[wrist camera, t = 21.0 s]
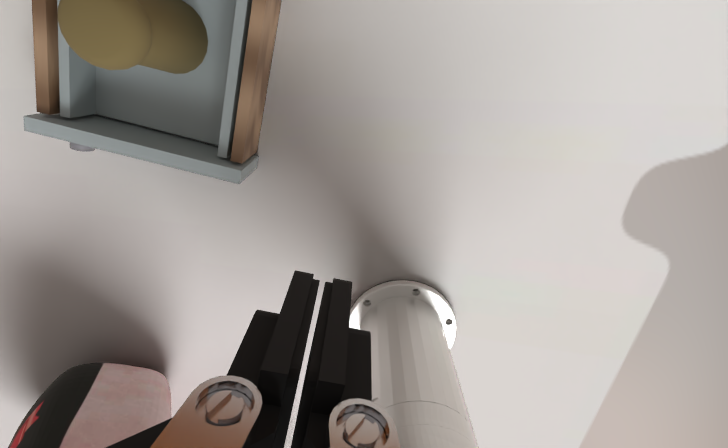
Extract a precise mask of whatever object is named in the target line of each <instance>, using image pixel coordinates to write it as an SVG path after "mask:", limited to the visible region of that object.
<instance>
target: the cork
mask: <svg viewBox="0 0 728 448" xmlns="http://www.w3.org/2000/svg"><path fill="white" fill-rule="evenodd" d="M58 23H59V27H60V30H61V33H62V35H63V37H64V38H65V40H66V42H67V43H68V45H69V46H70V47H71V48H72V50H73V51H74V52H75V53H76V54H77V55H78V56H79V57H80V58H82V59H84V60H85V61H87V62H88V63H90V64H92V65H94V66H97V67H100V68H104V69H107V70H126V69H129V68H131V67H133V66H136V65H142V66H146V67H149V68H153V69H157V70H161V71H165V72H169V73H173V74H185V73H188V72H190V71H193V70H195V69H196V68H197V67H198V66H199V65H200V64H201V63H202V62H203V60H204V58H205V55H206V53H207V47H208V37H207V31H206V27H205V25H204V23H203V21H202V19H201V17H200V16H199V15H198V13H197V12H196V11H195V10H194V9H193V7H191V6H190V5H188V4H187V3H185V2H184V1H183V0H60V2H59V5H58Z"/></svg>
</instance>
